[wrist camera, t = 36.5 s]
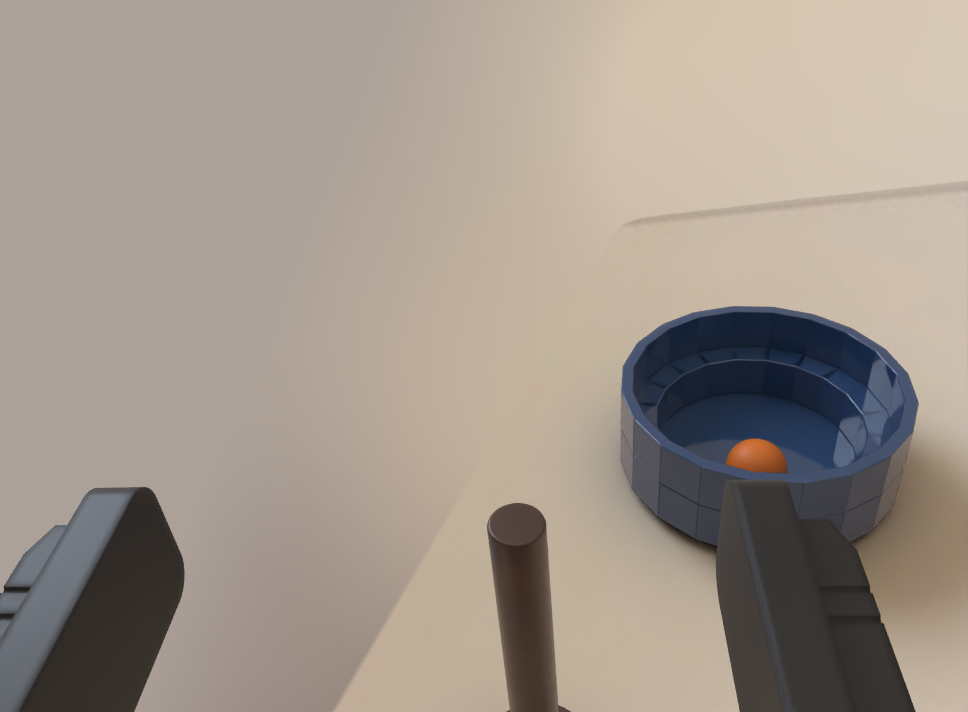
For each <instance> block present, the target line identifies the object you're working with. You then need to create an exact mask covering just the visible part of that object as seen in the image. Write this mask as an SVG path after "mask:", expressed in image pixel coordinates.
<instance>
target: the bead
mask: <svg viewBox="0 0 968 712" xmlns="http://www.w3.org/2000/svg"><path fill="white" fill-rule="evenodd" d="M726 465H729V466H733V467H736V468H740V469H744V470H748V471H752V472H768V473H787V463H786V459H785V457H784V455H783V453H782V452H781V451H780V449H779V448H778V447H776V446H775V445H774V444H772V443H771V442H769V441H766V440H763V439H747V440H744V441H742V442H740V443H738V444H737V445H736V446H734V447H733V449H732V450H731V451H730V453H729V454H728V456H727V459H726Z"/></svg>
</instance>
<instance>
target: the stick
mask: <svg viewBox="0 0 968 712" xmlns="http://www.w3.org/2000/svg"><path fill="white" fill-rule="evenodd" d="M487 531H488V539H489V547H490V555H491V563H492V571H493V579H494V587H495V595H496V603H497V611H498V619H499V626H500V634H501V642H502V650H503V658H504V666H505V674H506V682H507V690H508V698H509V706H510V710H509V711H507V712H570V711H569V710H567V709H565V708H563V707H561V706H559V705H558V694H557V679H556V664H555V649H554V635H553V620H552V605H551V590H550V575H549V560H548V545H547V530H546V521H545V518H544V516H543V515H542V513H541V512H540V511H539V510H538V509H536V508H535V507H533V506H531V505H528V504H523V503H513V504H508V505H505V506H503V507H501V508H499V509H497V510H496V511H495V512H494V513H493V514H492V515H491V517H490V519H489V521H488V524H487Z"/></svg>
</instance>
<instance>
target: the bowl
mask: <svg viewBox="0 0 968 712" xmlns="http://www.w3.org/2000/svg"><path fill="white" fill-rule="evenodd" d="M918 405H919V404H918V399H917V397H916V394H915V391H914V388H913V386H912V383H911V380H910V377H909V375H908V373H907V372H906V371H905V370H904V369H903V367H902V366H901V365H900V364H899V363H898V362H897V361H896V360H895V359H894V358H893V357H892V355H891V354H890V353H889V352H888V351H887V350H886V349H884V348H883V347H882V346H880V345H878V344H877V343H875V342H874V341H872V340H870V339H869V338H867V337H865V336H864V335H862V334H861V333H859V332H857V331H856V330H854V329H852V328H850V327H847V326H844V325H842V324H839V323H836V322H834V321H831V320H828V319H825V318H823V317H820V316H817V315H813V314H809V313H804V312H798V311H793V310H787V309H782V308H776V307H751V306H733V307H732V306H731V307H724V308H718V309H712V310H705V311H699V312H693V313H691V314H688V315H685V316H683V317H680V318H678V319H675V320H672V321H670V322H667V323H664V324H662V325H661V326H659V327H658V328H657V329H655V330H654V331H653V332H651V333H650V334H649V335H647V336H646V337H645V338H643V339H642V340H640V341H639V342H638V343H637V344H636V346H635V347H634V349H633V351H632V352H631V354H630V356H629V357H628V359H627V360H626V362H625V364H624V365H623V371H622V387H621V463H622V465H623V468H624V470H625V473H626V475H627V478H628V480H629V482H630V485H631V487H632V489H633V491H634V492H635V493H636V494H637V495H638V496H639V497H640V498H641V500H642V501H643V502H644V503H645V504H646V505H647V506H648V507H649V508H650V509H651V510H652V511H653V512H654V513H655V515H656V516H657V517H659V518H661V519H662V520H664V521H666V522H667V523H669V524H671V525H672V526H674V527H676V528H678V529H679V530H681V531H683V532H684V533H686V534H688V535H689V536H691V537H693V538H695V539H697V540H699V541H703V542H706V543H709V544H713V545H716V546H717V545H718V536H719V528H720V519H721V511H722V502H723V493H724V486H725V483H726V481H727V480H771V479H783V480H785V482H786V483H787V485H788V487H789V490H790V493H791V497H792V500H793V503H794V506H795V510H796V513H797V516H798V519H829V520H830V521H831V522H832V523H833V524H834V525H835V526H836V528H837V529H838V530H839V531H840V532H841V533H842V534H843V535H844V536H845V538H846V539H847V540H848V541H849V542H851V541H853V540H855V539H856V538H858V537H860V536H862V535H864V534H866V533H868V532H870V531H872V530H873V529H874V527H875V526H876V525H877V524H878V523H879V521H880V520H881V519H882V518H883V517H884V515H885V514H886V513H887V512H888V511H889V509H890V508H891V507H892V506H893V504H894V502H895V498H896V494H897V490H898V487H899V483H900V479H901V476H902V472H903V468H904V464H905V461H906V457H907V453H908V450H909V446H910V442H911V438H912V435H913V431H914V426H915V421H916V415H917V410H918ZM747 439H763V440H766V441H769V442H771V443H772V444H774V445H775V446H776V447H778V448H779V449H780V451H781V452H782V453H783V455H784V457H785V459H786V463H787V473H768V472H752V471H748V470H744V469H740V468H736V467H733V466H729V465H726V459H727V456H728V454H729V453H730V451H731V450H732V449H733V447H734V446H736V445H737V444H738V443H740V442H742V441H744V440H747Z"/></svg>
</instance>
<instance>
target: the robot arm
mask: <svg viewBox="0 0 968 712" xmlns="http://www.w3.org/2000/svg"><path fill="white" fill-rule="evenodd" d="M716 578H717V590H718V598H719V604H720V609H721V614H722V619H723V625H724V630H725V635H726V641H727V646H728V651H729V657H730V662H731V667H732V672H733V678H734V683H735V688H736V694H737V699H738V704H739V709H740V712H915V709H914V706H913V703H912V701H911V698H910V695H909V692H908V690H907V687H906V684H905V681H904V679H903V676H902V673H901V670H900V668H899V665H898V662H897V659H896V657H895V654H894V651H893V648H892V646H891V643H890V640H889V637H888V635H887V632H886V629H885V626H884V624H883V623H881V619H880V616H881V615H880V613H879V610H878V607H877V604H876V602H875V599H874V596H873V593H870V585H869V582H868V580H867V577H866V574H865V571H864V569H863V566H862V563H861V560H860V558H859V555H858V552H857V550H856V549H855V548H854V546H853V545H852V544H851V543H850V542H849V541H848V540H847V539H846V538H845V536H844V535H843V534H842V533H841V532H840V531H839V530H838V529H837V528H836V526H835V525H834V524H833V523H832V522H831V521H830V520H829V519H798V516H797V513H796V510H795V506H794V503H793V500H792V497H791V493H790V490H789V487H788V485H787V483H786V482H785V480H783V479H771V480H727V481H726V483H725V486H724V493H723V502H722V511H721V519H720V528H719V536H718V545H717V554H716ZM183 586H184V563H183V558H182V555H181V553H180V551H179V549H178V546H177V544H176V542H175V539H174V537H173V535H172V532H171V530H170V528H169V525H168V523H167V521H166V518H165V516H164V514H163V512H162V509H161V507H160V505H159V503H158V500H157V498H156V496H155V494H154V493H153V491H152V490H151V489H149V488H146V487H134V488H133V487H130V488H94V489H92V490H91V491H89V492H88V493H87V494H86V495H85V497H84V498H83V500H82V502H81V503H80V505H79V506H78V508H77V510H76V512H75V513H74V515H73V517H72V518H71V520H70V522H69V523H68V525H61V526H60V525H57V526H54V527H53V528H52V529H51V530H50V531H49V532H48V533H47V534H46V535H44V536H43V537H42V538H41V539H40V540H39V541H38V542H37V543H36V544H35V545H33V546H32V547H31V548H30V549H29V550H28V551H27V552H26V553H25V554H24V555H23V556H22V558H21V560H20V561H19V563H18V564H17V566H16V568H15V569H14V571H13V573H12V574H11V576H10V577H9V579H8V581H7V582H6V584H5V585H4V592H3V593H0V712H134V711H135V708H136V706H137V703H138V701H139V698H140V696H141V694H142V691H143V689H144V687H145V684H146V682H147V679H148V677H149V674H150V672H151V670H152V667H153V665H154V662H155V660H156V657H157V655H158V653H159V650H160V648H161V645H162V643H163V640H164V638H165V635H166V633H167V631H168V628H169V626H170V624H171V621H172V619H173V616H174V614H175V612H176V609H177V607H178V604H179V602H180V599H181V595H182V592H183Z"/></svg>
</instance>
